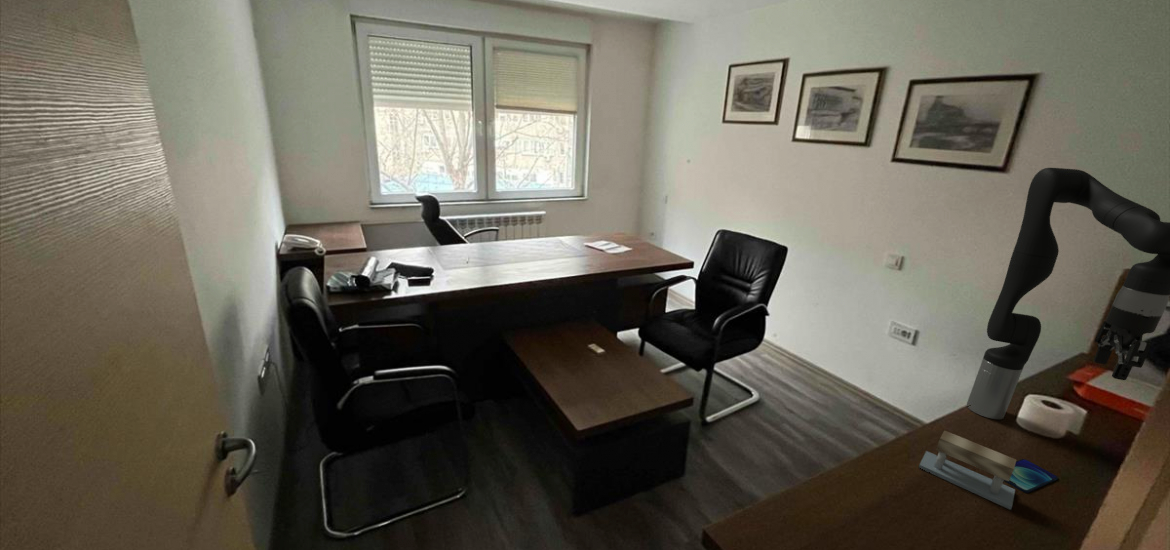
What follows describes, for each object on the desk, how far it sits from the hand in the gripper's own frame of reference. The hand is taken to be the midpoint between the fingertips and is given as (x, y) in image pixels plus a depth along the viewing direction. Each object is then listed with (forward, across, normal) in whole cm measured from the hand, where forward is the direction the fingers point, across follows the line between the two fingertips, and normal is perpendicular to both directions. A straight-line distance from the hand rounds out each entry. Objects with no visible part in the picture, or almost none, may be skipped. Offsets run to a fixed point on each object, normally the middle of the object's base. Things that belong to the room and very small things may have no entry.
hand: (1108, 370), depth 109 cm
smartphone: (+30, +7, -10) cm, 33 cm away
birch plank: (+24, +17, -24) cm, 38 cm away
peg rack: (+30, +17, -24) cm, 42 cm away
